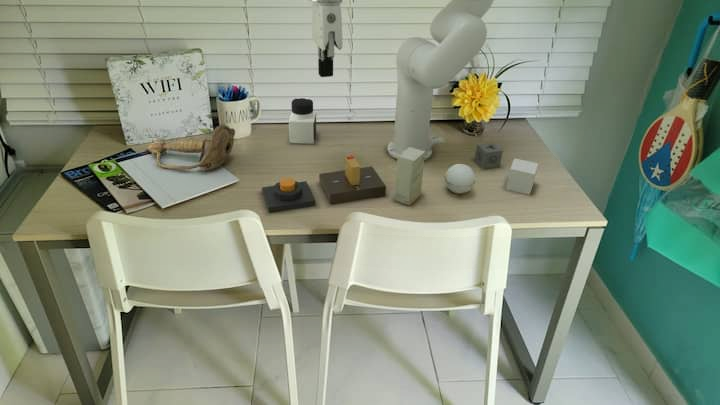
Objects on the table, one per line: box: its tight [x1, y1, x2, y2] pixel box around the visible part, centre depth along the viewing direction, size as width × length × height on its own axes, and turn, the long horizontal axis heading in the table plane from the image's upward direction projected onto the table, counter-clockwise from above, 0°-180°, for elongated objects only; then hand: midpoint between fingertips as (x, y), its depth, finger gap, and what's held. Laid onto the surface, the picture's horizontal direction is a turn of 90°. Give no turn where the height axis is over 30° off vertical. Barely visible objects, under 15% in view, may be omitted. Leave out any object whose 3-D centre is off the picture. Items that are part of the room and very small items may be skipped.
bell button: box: [279, 178, 296, 192], centre depth 120 cm, size 4×4×2 cm
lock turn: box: [344, 155, 361, 186], centre depth 124 cm, size 6×2×5 cm, turn 19°
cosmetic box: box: [393, 147, 425, 206], centre depth 122 cm, size 6×4×12 cm
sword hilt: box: [144, 124, 236, 172], centre depth 135 cm, size 10×24×15 cm
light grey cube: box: [505, 158, 539, 196], centre depth 130 cm, size 6×6×6 cm
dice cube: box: [474, 141, 503, 170], centre depth 139 cm, size 5×5×5 cm
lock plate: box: [318, 166, 387, 205], centre depth 126 cm, size 14×10×3 cm
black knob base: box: [261, 180, 316, 214], centre depth 122 cm, size 11×9×4 cm
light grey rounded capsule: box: [444, 163, 476, 194], centre depth 125 cm, size 10×7×7 cm
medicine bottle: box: [288, 96, 317, 145], centre depth 147 cm, size 7×7×12 cm
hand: (325, 75), depth 123 cm, fingers closed
